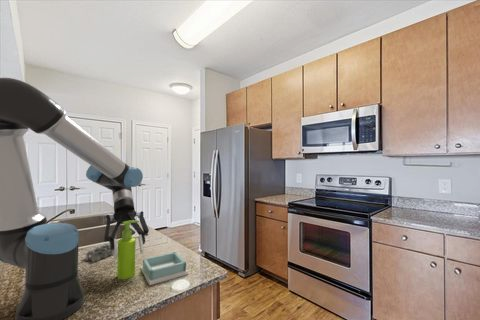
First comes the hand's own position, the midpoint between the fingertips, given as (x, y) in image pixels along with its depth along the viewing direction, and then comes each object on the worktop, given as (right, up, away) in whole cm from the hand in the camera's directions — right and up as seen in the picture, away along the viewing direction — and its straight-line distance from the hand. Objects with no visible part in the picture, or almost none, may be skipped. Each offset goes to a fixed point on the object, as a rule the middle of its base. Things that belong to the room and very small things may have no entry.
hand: (129, 254), depth 83 cm
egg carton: (-22, -9, +19) cm, 30 cm away
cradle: (+11, -9, +5) cm, 15 cm away
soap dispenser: (-2, -9, +3) cm, 9 cm away
